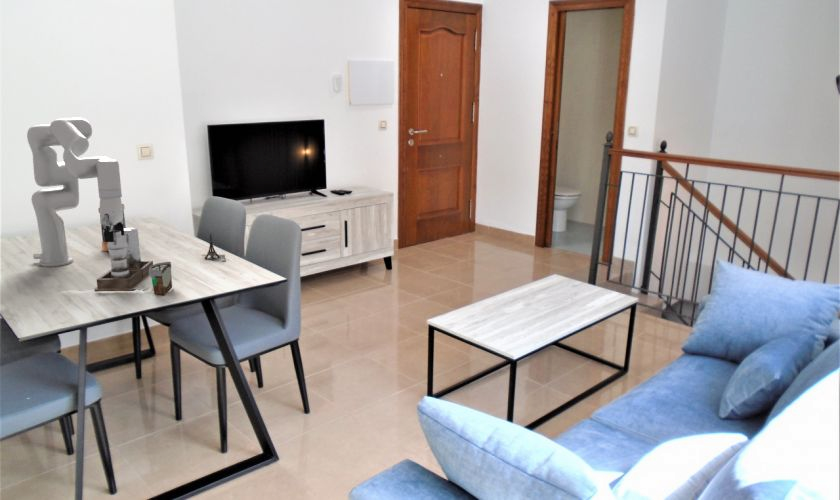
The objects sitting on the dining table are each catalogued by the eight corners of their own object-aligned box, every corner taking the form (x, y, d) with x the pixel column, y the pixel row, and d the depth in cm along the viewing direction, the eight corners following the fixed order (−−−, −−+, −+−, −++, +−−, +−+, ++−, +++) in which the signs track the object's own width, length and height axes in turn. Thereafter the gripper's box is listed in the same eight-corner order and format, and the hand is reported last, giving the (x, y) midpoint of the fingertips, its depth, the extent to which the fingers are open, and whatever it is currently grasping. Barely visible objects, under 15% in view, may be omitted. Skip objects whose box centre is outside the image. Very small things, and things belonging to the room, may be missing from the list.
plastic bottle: (123, 285, 239) (117, 234, 234) (107, 284, 241) (101, 232, 236) (134, 280, 245) (129, 230, 240) (118, 279, 247) (113, 229, 242)
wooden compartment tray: (94, 291, 236) (93, 279, 234) (121, 271, 261) (120, 260, 259) (133, 291, 236) (132, 279, 235) (156, 271, 262) (155, 260, 260)
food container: (156, 286, 242) (154, 261, 239) (173, 286, 242) (171, 261, 240) (145, 297, 230) (143, 271, 227) (163, 297, 230) (160, 270, 228)
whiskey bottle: (129, 244, 302) (121, 177, 294) (126, 249, 293) (119, 181, 285) (105, 246, 299) (97, 178, 291) (102, 251, 290) (93, 181, 282)
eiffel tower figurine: (226, 263, 276) (224, 233, 273) (201, 265, 273) (199, 235, 269) (224, 254, 290) (222, 226, 286) (201, 256, 286) (198, 227, 283)
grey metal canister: (121, 275, 251) (116, 231, 247) (127, 271, 258) (123, 227, 253) (138, 275, 252) (134, 231, 247) (144, 271, 258) (140, 227, 253)
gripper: (109, 189, 241) (113, 232, 246) (89, 197, 225) (94, 244, 229) (129, 189, 242) (133, 233, 246) (111, 198, 225) (116, 244, 230)
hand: (114, 238), depth 238 cm, fingers open, 9 cm apart
